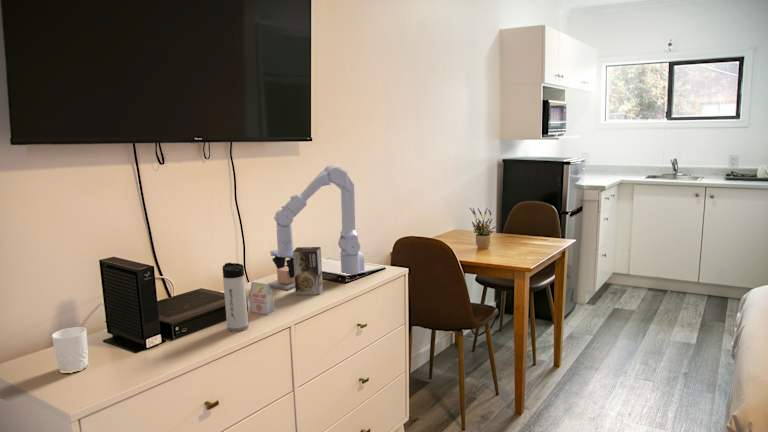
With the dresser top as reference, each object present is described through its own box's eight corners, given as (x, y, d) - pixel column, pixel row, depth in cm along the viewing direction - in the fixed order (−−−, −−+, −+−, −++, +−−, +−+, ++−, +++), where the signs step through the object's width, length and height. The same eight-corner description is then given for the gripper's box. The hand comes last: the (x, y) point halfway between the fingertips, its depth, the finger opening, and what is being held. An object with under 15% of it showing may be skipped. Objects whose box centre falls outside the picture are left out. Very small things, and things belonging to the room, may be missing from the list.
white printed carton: (257, 309, 192) (255, 280, 190) (274, 311, 189) (272, 282, 187) (250, 312, 189) (248, 283, 187) (267, 315, 186) (265, 285, 184)
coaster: (287, 277, 227) (287, 276, 227) (309, 282, 220) (309, 280, 220) (265, 285, 218) (264, 283, 218) (287, 290, 211) (287, 288, 211)
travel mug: (240, 322, 180) (236, 260, 176) (252, 327, 175) (247, 264, 172) (222, 328, 176) (217, 264, 172) (234, 333, 171) (228, 268, 167)
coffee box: (323, 289, 211) (321, 246, 208) (319, 294, 205) (317, 250, 202) (299, 289, 212) (296, 246, 209) (295, 294, 206) (292, 251, 203)
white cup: (76, 360, 155) (71, 325, 153) (97, 364, 152) (93, 328, 150) (49, 372, 148) (44, 336, 146) (71, 377, 145) (66, 340, 143)
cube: (287, 278, 222) (286, 266, 221) (296, 280, 219) (295, 268, 218) (277, 282, 218) (276, 269, 217) (287, 284, 215) (286, 271, 214)
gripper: (263, 241, 217) (266, 276, 219) (291, 245, 209) (293, 281, 211) (277, 237, 223) (279, 271, 225) (304, 241, 214) (306, 276, 217)
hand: (287, 276), depth 218 cm, fingers closed on cube, 5 cm apart
